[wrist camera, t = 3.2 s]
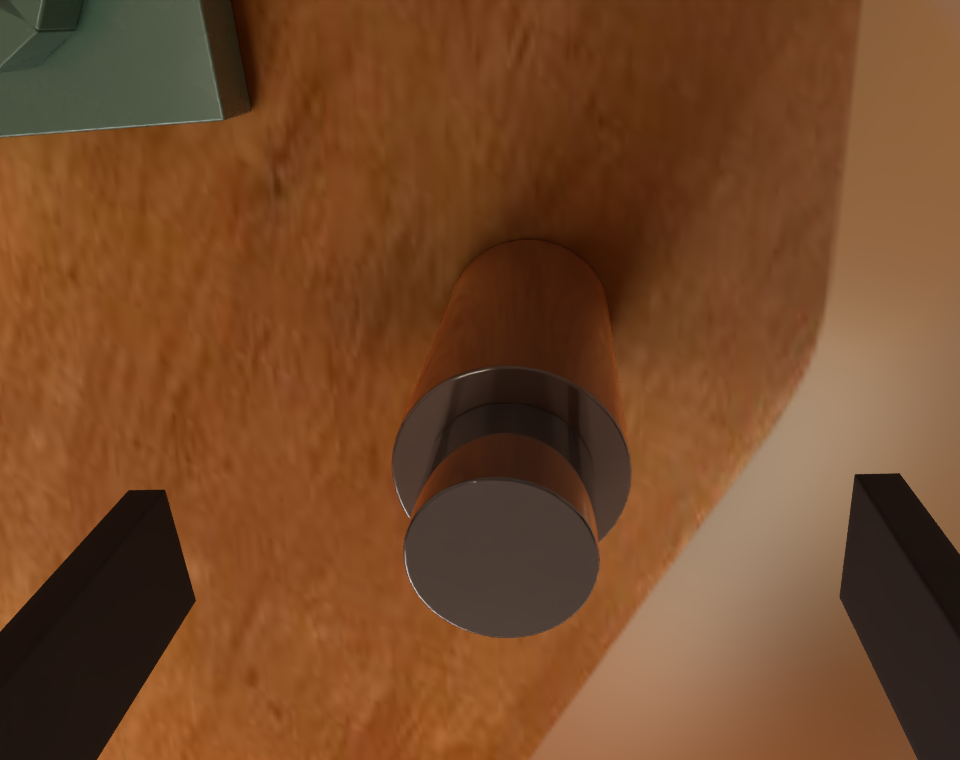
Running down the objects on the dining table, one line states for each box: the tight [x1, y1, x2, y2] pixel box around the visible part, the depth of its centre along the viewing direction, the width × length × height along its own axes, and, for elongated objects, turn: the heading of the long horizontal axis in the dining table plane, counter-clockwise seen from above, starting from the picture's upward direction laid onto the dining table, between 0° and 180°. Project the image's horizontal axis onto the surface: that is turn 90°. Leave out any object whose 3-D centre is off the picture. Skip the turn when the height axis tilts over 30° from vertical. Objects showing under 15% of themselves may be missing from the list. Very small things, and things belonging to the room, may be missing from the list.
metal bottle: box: [392, 240, 632, 638], centre depth 21 cm, size 5×5×13 cm
